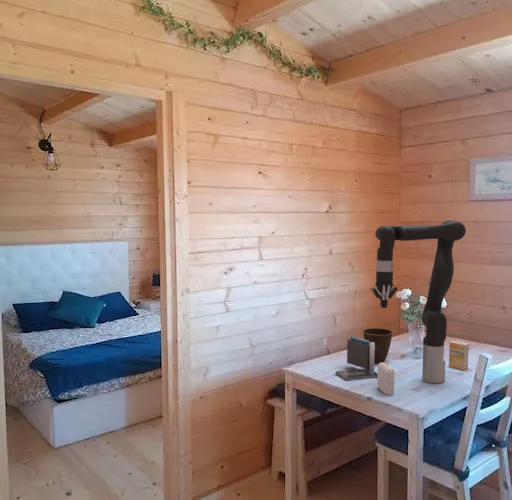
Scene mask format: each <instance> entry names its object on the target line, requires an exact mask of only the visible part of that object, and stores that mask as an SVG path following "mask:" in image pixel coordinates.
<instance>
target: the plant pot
mask: <svg viewBox="0 0 512 500" xmlns="http://www.w3.org/2000/svg"><path fill="white" fill-rule="evenodd" d="M362 333H363V339H364V340H368V341H370V342H374V343H375V353H374V364H379V363H386V359H387V357H388V354H389V351H390V347H391V342H392V339H393V338H392V337H393V331H392V330H389V329H386V328H379V327H378V328H377V327H375V328H366V329H363V330H362Z"/></svg>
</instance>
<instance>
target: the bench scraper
mask: <svg viewBox="0 0 512 500" xmlns="http://www.w3.org/2000/svg"><path fill="white" fill-rule="evenodd" d="M346 342H347V344H346V345H347V346H346V347H347V350H346V353H347V354H346V364H349V365H352V366H355V367H359V368H360V369H364V368H365V369H369V371H375V363H374V353H375V343H374V342H370V341H368V340H364V338H359V337H356V336H353V335H352V336H350V337H349V338H348V339H346Z"/></svg>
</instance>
